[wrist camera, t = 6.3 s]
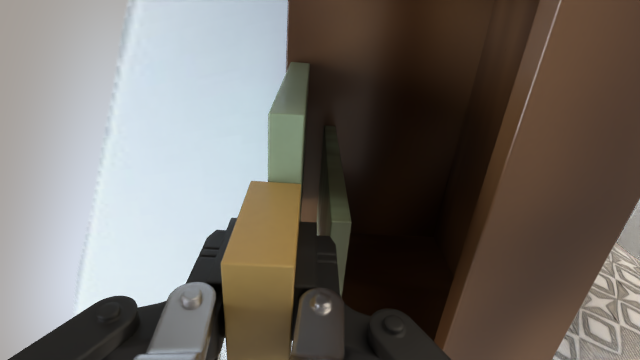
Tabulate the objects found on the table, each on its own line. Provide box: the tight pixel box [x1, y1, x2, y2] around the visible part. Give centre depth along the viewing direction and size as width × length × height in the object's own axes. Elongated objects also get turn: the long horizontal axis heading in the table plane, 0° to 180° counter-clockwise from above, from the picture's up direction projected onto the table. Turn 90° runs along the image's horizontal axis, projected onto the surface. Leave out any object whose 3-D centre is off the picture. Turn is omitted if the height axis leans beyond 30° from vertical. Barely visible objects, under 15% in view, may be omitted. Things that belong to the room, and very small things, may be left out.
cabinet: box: [286, 0, 640, 360], centre depth 19 cm, size 13×19×14 cm
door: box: [221, 62, 310, 360], centre depth 17 cm, size 2×10×16 cm, turn 176°
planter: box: [552, 243, 640, 360], centre depth 27 cm, size 16×16×13 cm
